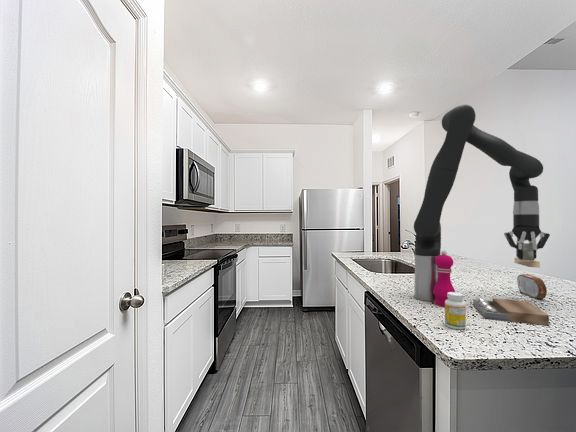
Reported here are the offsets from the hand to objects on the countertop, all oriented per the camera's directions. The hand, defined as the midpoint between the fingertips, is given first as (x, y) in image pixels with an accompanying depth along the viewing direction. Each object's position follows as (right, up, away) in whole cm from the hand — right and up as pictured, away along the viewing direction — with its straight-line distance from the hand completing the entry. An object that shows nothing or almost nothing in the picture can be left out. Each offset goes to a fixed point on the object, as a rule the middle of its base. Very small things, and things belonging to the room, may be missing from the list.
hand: (526, 259), depth 107 cm
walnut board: (-14, -16, -13) cm, 25 cm away
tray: (-21, -16, -10) cm, 29 cm away
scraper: (0, -2, 0) cm, 2 cm away
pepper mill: (-32, -17, -2) cm, 36 cm away
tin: (+11, -17, +11) cm, 23 cm away
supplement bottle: (-40, -17, -23) cm, 49 cm away
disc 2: (-22, -14, -10) cm, 27 cm away
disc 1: (-20, -14, -5) cm, 25 cm away
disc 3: (-23, -14, -14) cm, 30 cm away
